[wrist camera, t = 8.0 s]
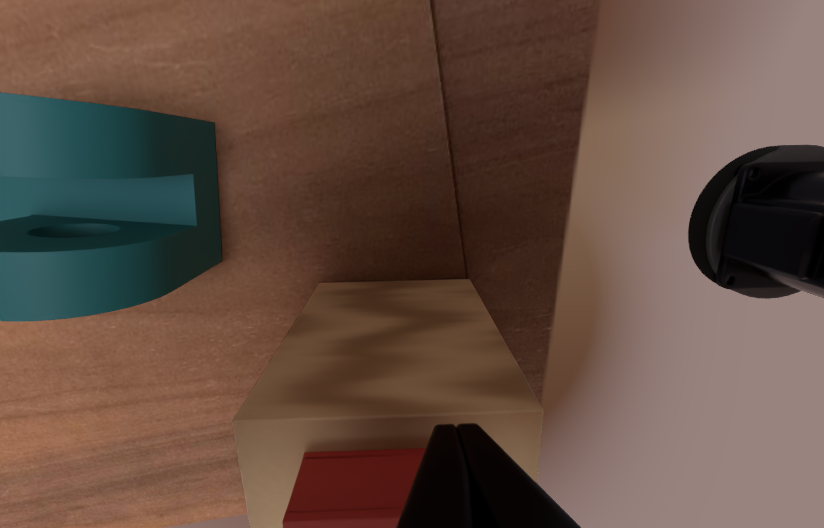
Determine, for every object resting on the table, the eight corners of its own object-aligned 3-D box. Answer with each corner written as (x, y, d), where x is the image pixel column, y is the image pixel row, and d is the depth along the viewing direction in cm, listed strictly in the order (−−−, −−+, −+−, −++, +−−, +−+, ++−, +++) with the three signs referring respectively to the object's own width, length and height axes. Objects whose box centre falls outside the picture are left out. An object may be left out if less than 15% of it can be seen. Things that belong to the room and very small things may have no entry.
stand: (469, 278, 20) (545, 410, 10) (466, 407, 23) (525, 629, 12) (319, 282, 20) (230, 421, 10) (330, 412, 22) (268, 641, 12)
